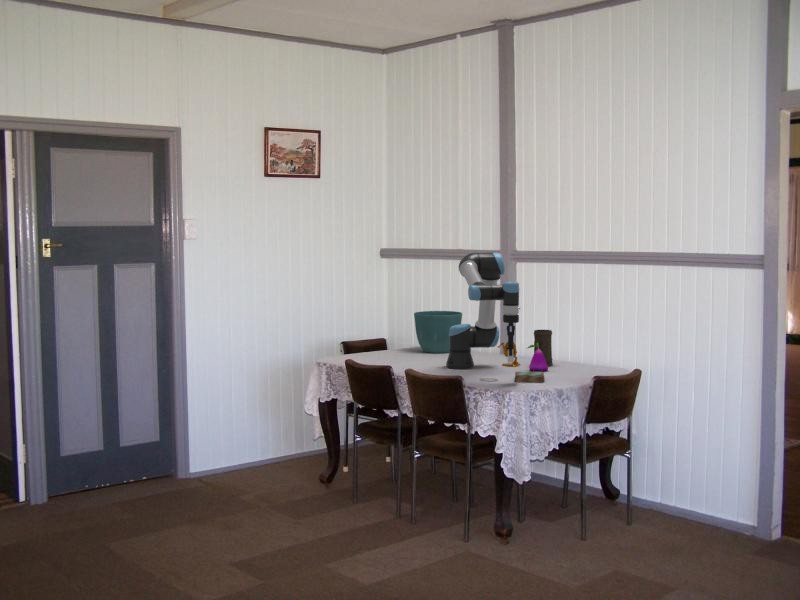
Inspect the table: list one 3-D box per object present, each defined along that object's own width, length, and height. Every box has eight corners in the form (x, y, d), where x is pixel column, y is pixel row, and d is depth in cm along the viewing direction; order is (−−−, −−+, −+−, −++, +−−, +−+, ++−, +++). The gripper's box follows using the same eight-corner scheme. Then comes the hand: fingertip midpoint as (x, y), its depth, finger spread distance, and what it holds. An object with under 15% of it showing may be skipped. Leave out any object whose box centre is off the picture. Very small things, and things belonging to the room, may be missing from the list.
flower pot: (464, 354, 544) (464, 314, 542) (415, 354, 544) (414, 315, 542) (460, 348, 574) (460, 310, 572) (413, 348, 573) (413, 311, 572)
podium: (515, 382, 439) (515, 375, 438) (515, 377, 453) (515, 371, 452) (544, 382, 437) (544, 375, 437) (543, 378, 451) (543, 371, 450)
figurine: (496, 365, 433) (496, 341, 433) (512, 364, 440) (512, 339, 440) (509, 367, 427) (509, 342, 426) (525, 365, 434) (525, 341, 433)
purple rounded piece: (545, 369, 482) (545, 341, 481) (552, 372, 471) (552, 343, 470) (524, 369, 480) (525, 341, 479) (531, 372, 469) (531, 344, 468)
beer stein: (552, 367, 488) (552, 330, 488) (532, 366, 490) (532, 330, 490) (553, 365, 503) (553, 329, 503) (533, 364, 505) (534, 329, 505)
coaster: (479, 382, 442) (479, 380, 442) (480, 379, 450) (480, 377, 450) (497, 382, 440) (497, 380, 440) (498, 379, 449) (498, 378, 449)
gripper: (518, 316, 419) (518, 364, 421) (518, 312, 440) (518, 357, 442) (502, 316, 420) (502, 364, 421) (503, 311, 441) (503, 357, 443)
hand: (510, 360), depth 432 cm, fingers closed on figurine, 9 cm apart
